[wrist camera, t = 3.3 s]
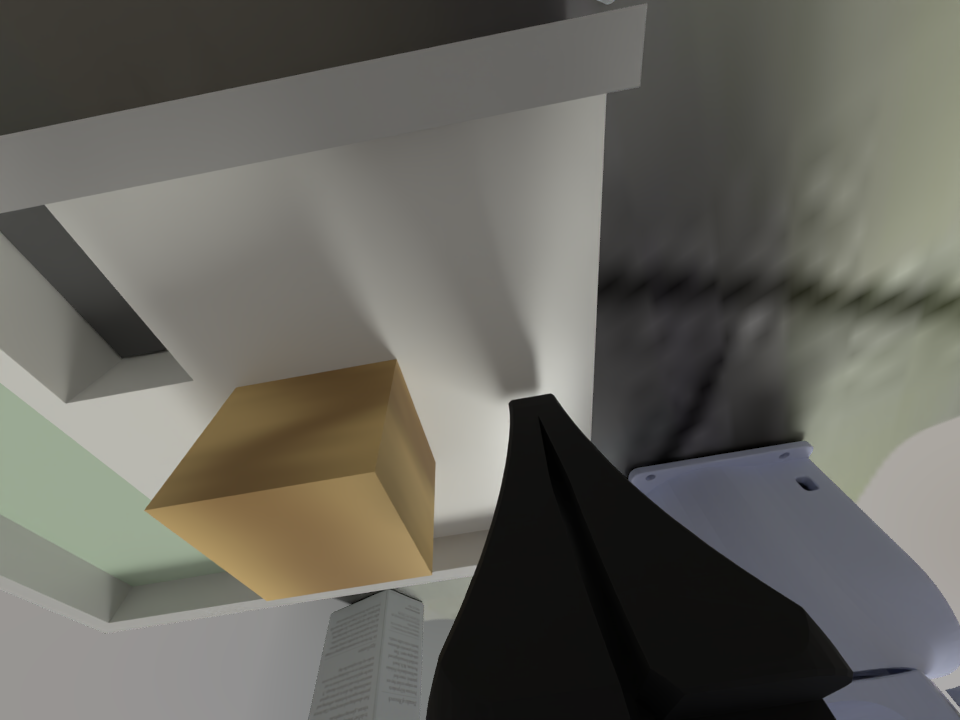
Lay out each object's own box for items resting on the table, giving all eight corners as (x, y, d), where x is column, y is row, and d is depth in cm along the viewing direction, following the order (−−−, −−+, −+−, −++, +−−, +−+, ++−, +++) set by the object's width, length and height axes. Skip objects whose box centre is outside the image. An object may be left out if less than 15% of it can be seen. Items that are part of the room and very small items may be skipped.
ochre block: (396, 358, 10) (374, 471, 7) (435, 462, 13) (432, 575, 10) (235, 387, 11) (144, 510, 7) (309, 483, 14) (266, 601, 10)
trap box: (570, 42, 8) (647, 2, 5) (572, 480, 19) (597, 556, 16) (-318, 222, 9) (-733, 285, 6) (160, 547, 20) (105, 633, 17)
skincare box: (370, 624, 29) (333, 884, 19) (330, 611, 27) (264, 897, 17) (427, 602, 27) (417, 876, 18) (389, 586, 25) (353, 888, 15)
